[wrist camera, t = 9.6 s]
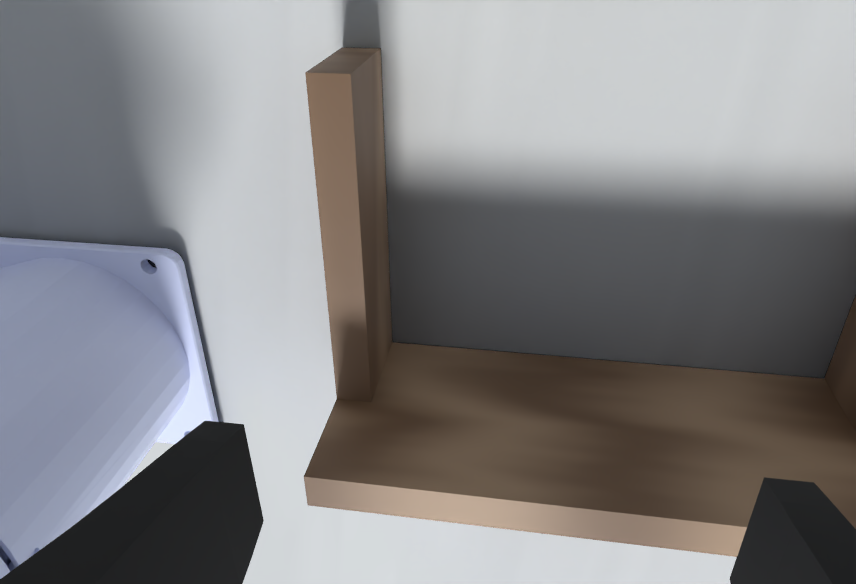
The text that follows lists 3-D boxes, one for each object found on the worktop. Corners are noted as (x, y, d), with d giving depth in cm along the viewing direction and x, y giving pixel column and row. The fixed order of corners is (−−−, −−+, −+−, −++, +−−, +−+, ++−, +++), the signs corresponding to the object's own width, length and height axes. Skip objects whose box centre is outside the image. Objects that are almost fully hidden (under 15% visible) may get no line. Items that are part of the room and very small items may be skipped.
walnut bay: (363, 364, 22) (308, 505, 17) (342, 47, 17) (252, 109, 12) (849, 408, 20) (956, 583, 15) (992, 62, 15) (1231, 144, 10)
